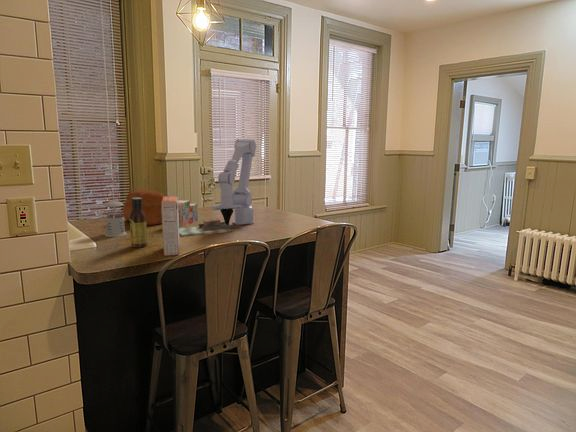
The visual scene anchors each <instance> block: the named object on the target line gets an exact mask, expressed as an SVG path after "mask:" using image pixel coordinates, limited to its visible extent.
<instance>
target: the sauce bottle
mask: <svg viewBox="0 0 576 432" xmlns="http://www.w3.org/2000/svg"><path fill="white" fill-rule="evenodd" d="M129 229H130V231H129V232H130V243H131V247H132V248H144V247H146V246H147V245H148V231H147V225H146V215H145V212H144V211H143V210H142V198H139V197H137V198H132V212H131V215H130V221H129Z"/></svg>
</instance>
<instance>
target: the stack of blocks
mask: <svg viewBox="0 0 576 432" xmlns="http://www.w3.org/2000/svg"><path fill="white" fill-rule="evenodd" d="M178 213H179V228H185V227H186V226H188V225H191V224H193V223H195V222H197V221H198V219H199V217H198V215H199V214H198V213H199V212H198V203H191V201H190V200H181V199H179V200H178Z"/></svg>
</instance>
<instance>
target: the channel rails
mask: <svg viewBox="0 0 576 432" xmlns="http://www.w3.org/2000/svg"><path fill="white" fill-rule="evenodd" d="M220 222H221V225H214V226H204V223H198V227H199V228H203V231H210V230H221V229H230V223H229V224H225V221H220Z"/></svg>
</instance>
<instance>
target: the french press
mask: <svg viewBox="0 0 576 432" xmlns="http://www.w3.org/2000/svg"><path fill="white" fill-rule="evenodd" d="M109 182H110V183H112V187H114V183H115V182H116V181H115V179H110V181H109ZM112 198H113V199H112V200H111V201H110V200H109V201H108V202H106V203H104V205H103V206H104V207H108V208H110V212H107V213H105V215H106V216H104V220H105V233H104V234H103V236H104V235H105V236H104V237H109V238H113V237H114V238H116V237H123V236H126V235H128V233H127V232H126V230H125V218H124V215H123V211H116V208H119V207H122V206H123V207H124V204H125V203H123V202H120V201H118V200H117V201H116V200H115V195H114V192H112ZM112 210H113V211H112Z"/></svg>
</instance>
